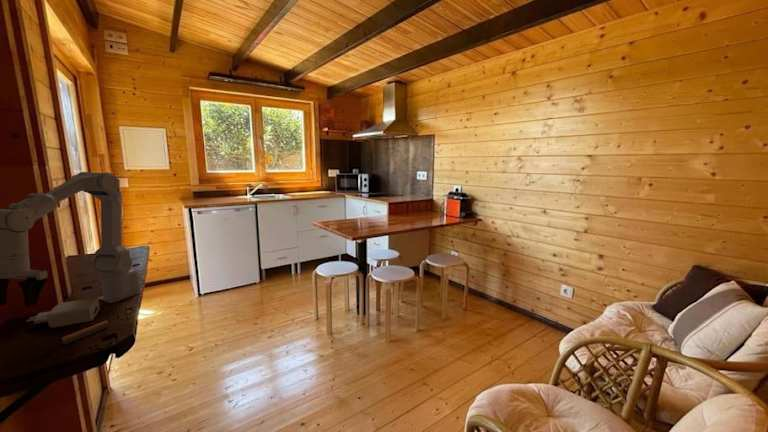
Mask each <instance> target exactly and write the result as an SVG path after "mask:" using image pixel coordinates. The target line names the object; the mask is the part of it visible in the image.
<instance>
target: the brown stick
mask: <svg viewBox="0 0 768 432" xmlns="http://www.w3.org/2000/svg"><path fill="white" fill-rule="evenodd" d="M108 328H110V324H109V321H108V320H104V321H101V322H99V323H96V324H94V325H91V326H89V327H86V328H84V329H81V330H78V331H75V332H73V333H70V334H68V335H65V336H63V337H61V341H62V342H61V343H62V344H63V345H67V344H71V343H72V342H76V341H78V340H80V339H83V338H85V337H88V336H91V335H93V334H95V333H98V332H100V331H103V330H105V329H108Z"/></svg>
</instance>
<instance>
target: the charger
mask: <svg viewBox="0 0 768 432" xmlns="http://www.w3.org/2000/svg"><path fill="white" fill-rule="evenodd" d="M98 298H99V297H92V298H86V299H79V300H72V301H65V302H60V303H58V304H56V305H55V306H54V307H53V308H52V309H51V310H49V311H44V312H39V313H38V314H37V315H35V316H30V317H29V318H28V319H27V320H26V322H28V323H29V322H31V321H33V324H36V325H37V324H43V323H47V324H48V327H49V328H52V329H54V328H61V327H65V326H71V325H77V324H82V323H87V322H93V320H94V319H95V317H96V316H97V314H98V313H99V312H100V310H101V309H100V308H101V307H100V299H98Z"/></svg>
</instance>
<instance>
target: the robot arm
mask: <svg viewBox="0 0 768 432" xmlns="http://www.w3.org/2000/svg"><path fill="white" fill-rule="evenodd" d="M70 177H71V178H69V179H68V180H66V181H65V182H63V183H61V184H60V185H58V186H56V187H55V188H53V189H51V190H50V191H48V192H46V193H42V192H37V193H36V192H33V193H32V192H31V193H28V194H26V195H27V197H26V198H24V199H22V200H20V201H19V202H16V203H15V202H13V203H10V204H9V207H8V208H0V307H2V306H4V305H6V304H7V300H8V299H7V298H8V297H7V296H8V294H7V291H8V286H9V283H10V281H11V280H23V281H18V282H17V284H18V286H19V288H21V291H22V293H23V298H24V299H23V300H24V305H25V308H30V307H34V306H35V305H37V303H38V299H39V296H40V294H41V292H42V289H43V288H44V286H45V284H46V283H47V282H48V271H47V270H39V269H31V263H30V262H31V261H30V250H29V249H30V247H29V244H30V243H29V230H31V229H32V228H33V227H34V224H35V222H36V221H37V220H39V219H41V218H42V217H44V216H45V215H48V214H49V213H51V212H53V211H55V210H56V209H57V207H58V206H57V203H59V202H61V201H64V200H66V199H68V198H69V197H72V196H74V195H76V194H78V193H80V192H84V193H87V194H89V195H91V196H94V197H95V198H96V199H97V200H99V201H100V225H101V226H100V232H101V233H100V237H101V239H100V240H101V241H100V244H101V245H100V247H99V248H98V249H96V251H94V258H93V260H92V263H91V264H92V269H93V270H94V271H95V272H97V273H98V276H100V283H101V289H102V294H103V295H102V296H98V297H97V298H98V300H99V301H104V302H106V303H109V304H113V303H116V302H119V301H121V300H124V299H127V298H129V297H133V296H136V295H139V294H141V291H140V286H139V280H138V279H139V278H138V275H137V272H136V271H135V270H134V269H133V268H132V265H133V260H132V257H131V254H130V253H131V252H130V250H128V249H127V248H126V247H125V246H123V217H122V216H123V209H122V207H123V205H122V204H123V201H122V198H123V197H122V192H121V190H120V185H121V183H120V181H121V180H120V179H119V177H117V175H114V174H113V173H112V172H89V171H88V172H87V171H81V172H78V173H76V174H74V175H72V176H70Z"/></svg>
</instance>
